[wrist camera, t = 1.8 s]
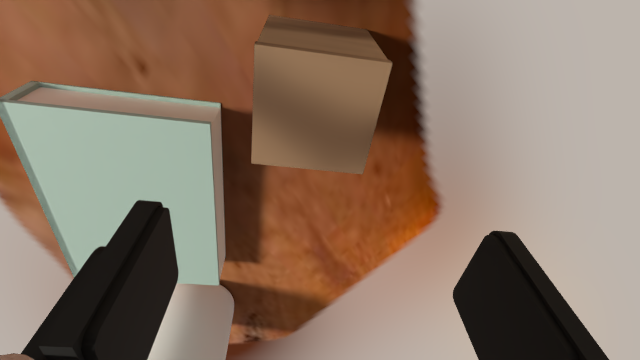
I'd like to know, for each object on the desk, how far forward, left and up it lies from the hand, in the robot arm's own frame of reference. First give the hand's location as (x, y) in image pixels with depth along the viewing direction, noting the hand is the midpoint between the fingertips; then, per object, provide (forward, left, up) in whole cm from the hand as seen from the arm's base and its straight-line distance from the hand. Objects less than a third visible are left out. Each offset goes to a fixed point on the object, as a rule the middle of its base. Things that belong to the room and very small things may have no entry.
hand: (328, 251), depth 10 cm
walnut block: (-1, 0, -15) cm, 15 cm away
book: (+10, -12, -15) cm, 22 cm away
